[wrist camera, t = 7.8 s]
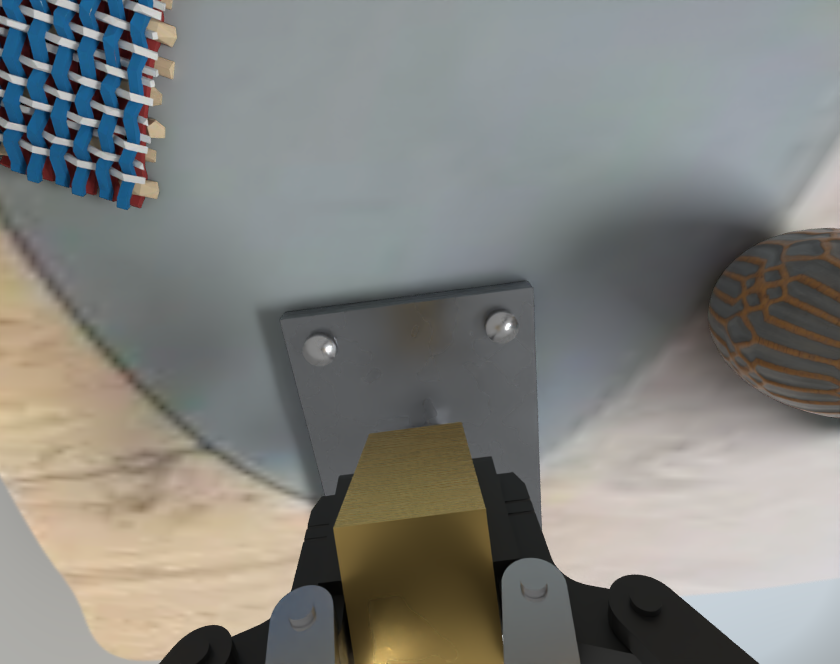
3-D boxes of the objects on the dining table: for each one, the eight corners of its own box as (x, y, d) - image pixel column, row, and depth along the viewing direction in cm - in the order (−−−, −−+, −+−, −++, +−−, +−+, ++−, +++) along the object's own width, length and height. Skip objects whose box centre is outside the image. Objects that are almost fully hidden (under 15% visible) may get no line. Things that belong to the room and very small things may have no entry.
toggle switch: (285, 312, 21) (241, 373, 16) (527, 280, 21) (571, 332, 15) (349, 568, 27) (335, 677, 22) (538, 546, 27) (572, 651, 21)
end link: (308, 441, 15) (232, 540, 9) (523, 413, 15) (588, 495, 9) (358, 749, 16) (319, 1020, 10) (560, 726, 16) (641, 986, 10)
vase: (690, 225, 20) (880, 282, 12) (852, 207, 20) (1152, 253, 12) (674, 367, 23) (820, 493, 15) (817, 352, 23) (1044, 471, 15)
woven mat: (202, -90, 16) (175, -120, 14) (166, 210, 20) (141, 218, 18) (-137, -225, 15) (-217, -278, 13) (-107, 127, 18) (-164, 126, 17)
